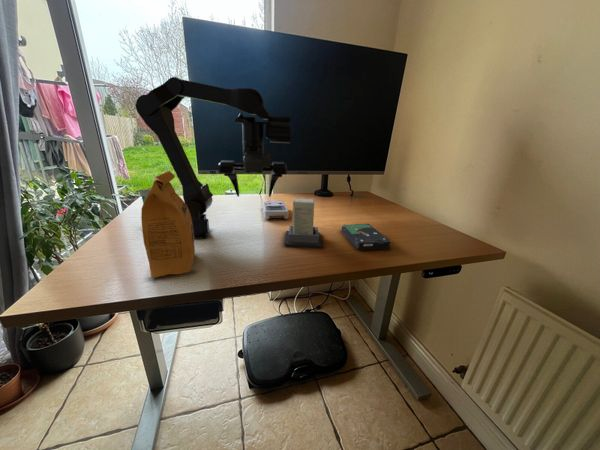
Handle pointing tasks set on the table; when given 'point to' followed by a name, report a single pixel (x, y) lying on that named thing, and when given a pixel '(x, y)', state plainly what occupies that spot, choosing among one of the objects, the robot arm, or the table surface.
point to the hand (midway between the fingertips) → (254, 196)
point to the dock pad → (303, 239)
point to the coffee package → (167, 229)
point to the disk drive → (365, 237)
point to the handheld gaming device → (275, 210)
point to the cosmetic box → (303, 216)
